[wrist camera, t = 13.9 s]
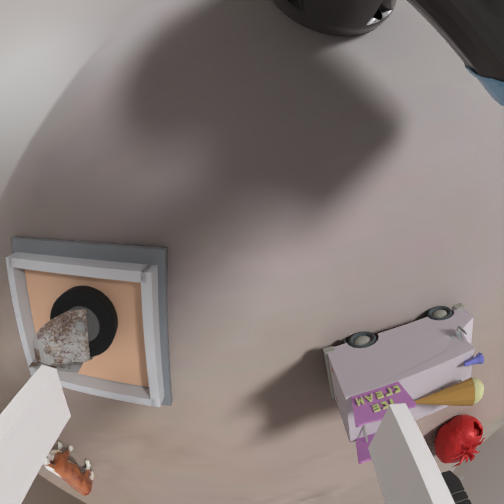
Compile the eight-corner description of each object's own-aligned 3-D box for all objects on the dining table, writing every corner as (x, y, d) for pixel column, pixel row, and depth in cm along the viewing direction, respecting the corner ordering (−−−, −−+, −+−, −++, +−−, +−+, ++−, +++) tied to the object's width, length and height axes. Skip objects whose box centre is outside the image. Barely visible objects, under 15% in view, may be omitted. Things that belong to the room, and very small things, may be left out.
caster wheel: (120, 283, 37) (122, 357, 39) (39, 277, 35) (45, 349, 36) (110, 297, 31) (115, 382, 32) (17, 289, 28) (28, 371, 29)
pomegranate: (428, 453, 46) (445, 486, 37) (429, 424, 44) (451, 459, 35) (469, 431, 46) (489, 460, 37) (475, 400, 43) (499, 430, 34)
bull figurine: (58, 425, 43) (40, 455, 35) (103, 472, 47) (91, 502, 39) (44, 427, 44) (27, 456, 36) (88, 473, 47) (76, 501, 39)
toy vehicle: (451, 347, 40) (506, 407, 25) (328, 390, 41) (355, 473, 26) (453, 292, 37) (522, 345, 23) (318, 335, 38) (350, 419, 24)
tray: (15, 236, 34) (-1, 242, 31) (166, 247, 35) (158, 256, 32) (41, 374, 40) (31, 386, 37) (172, 401, 41) (167, 417, 37)
